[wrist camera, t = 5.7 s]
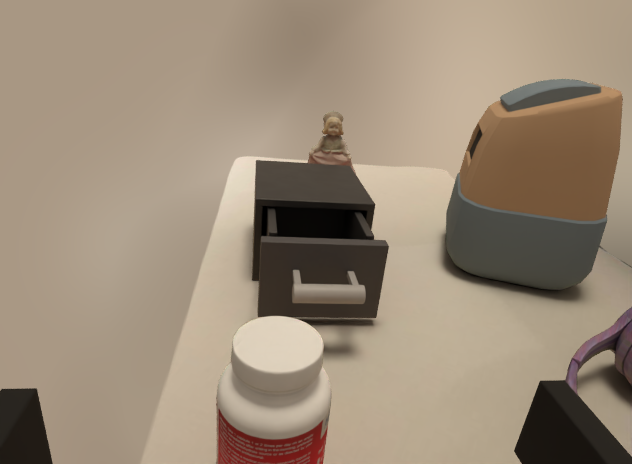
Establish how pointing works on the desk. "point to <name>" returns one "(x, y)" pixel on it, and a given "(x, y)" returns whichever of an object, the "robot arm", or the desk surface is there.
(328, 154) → the figurine
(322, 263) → the drawer
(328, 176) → the small cabinet
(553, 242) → the tan rounded box
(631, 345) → the headphones
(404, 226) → the desk surface
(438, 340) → the desk surface
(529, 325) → the desk surface
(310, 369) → the pill bottle
